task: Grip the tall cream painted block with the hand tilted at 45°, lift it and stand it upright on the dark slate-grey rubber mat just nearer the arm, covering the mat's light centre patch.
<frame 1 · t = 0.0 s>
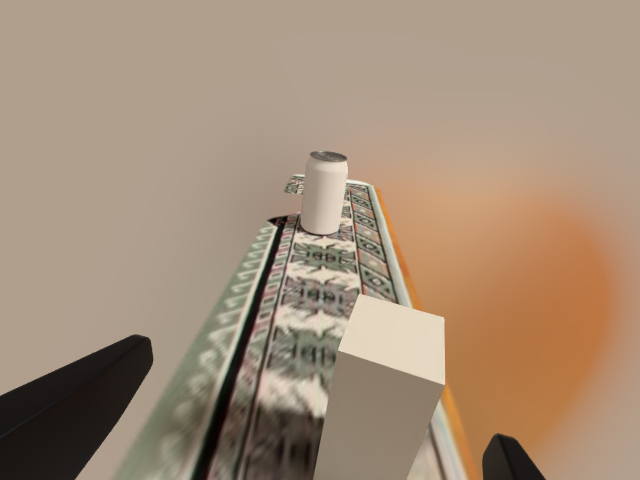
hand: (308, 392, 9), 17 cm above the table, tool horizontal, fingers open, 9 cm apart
cream block: (357, 465, 23), on the table
can: (319, 228, 57), on the table
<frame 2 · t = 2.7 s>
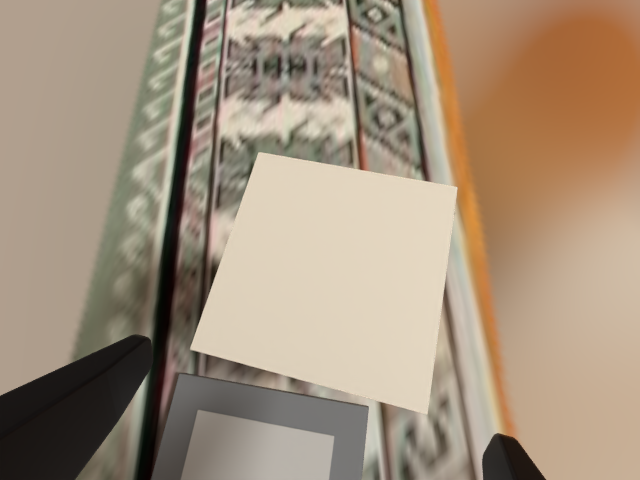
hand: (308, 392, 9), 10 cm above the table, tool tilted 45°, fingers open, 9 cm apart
cream block: (339, 321, 19), on the table
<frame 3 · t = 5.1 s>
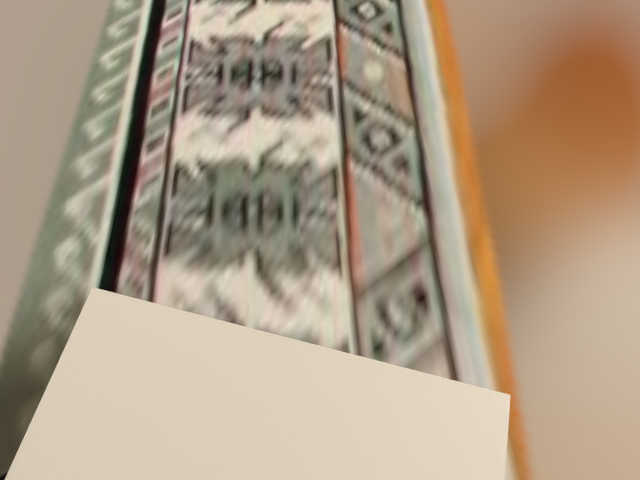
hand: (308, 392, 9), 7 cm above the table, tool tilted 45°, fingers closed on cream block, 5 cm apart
cream block: (316, 411, 14), on the table, touching gripper
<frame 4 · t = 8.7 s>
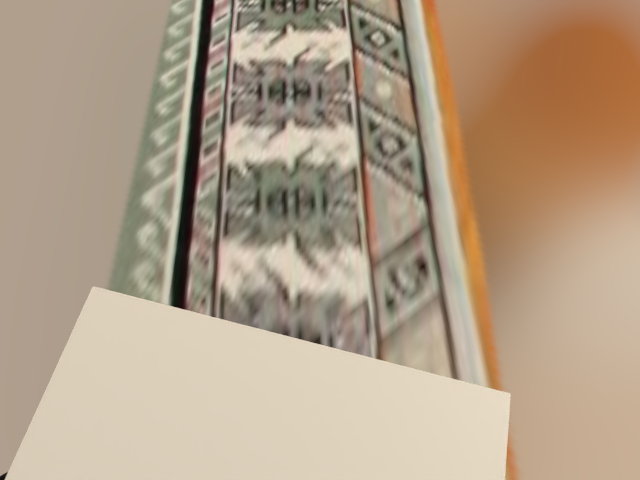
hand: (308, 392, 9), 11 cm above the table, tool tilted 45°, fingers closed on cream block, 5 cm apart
cream block: (316, 411, 14), point 5 cm above the table, touching gripper
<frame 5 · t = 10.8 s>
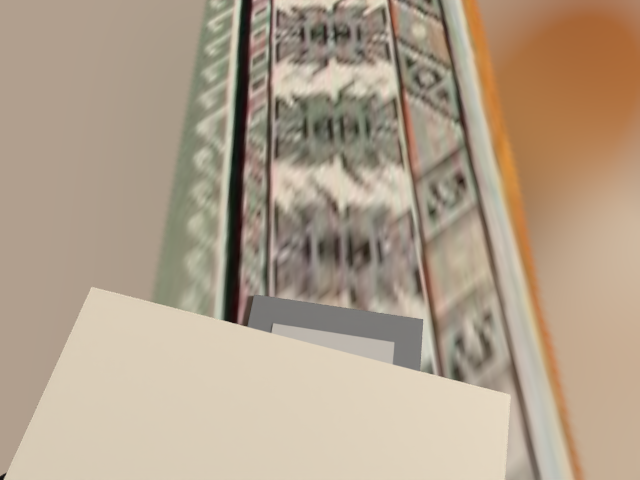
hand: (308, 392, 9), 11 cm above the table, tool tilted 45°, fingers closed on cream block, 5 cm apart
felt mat: (324, 397, 19), on the table
cream block: (316, 411, 14), point 5 cm above the table, touching gripper
when the fingers open (8 cm above the table, at t = 12.6 s): cream block stays where it is, resting on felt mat.
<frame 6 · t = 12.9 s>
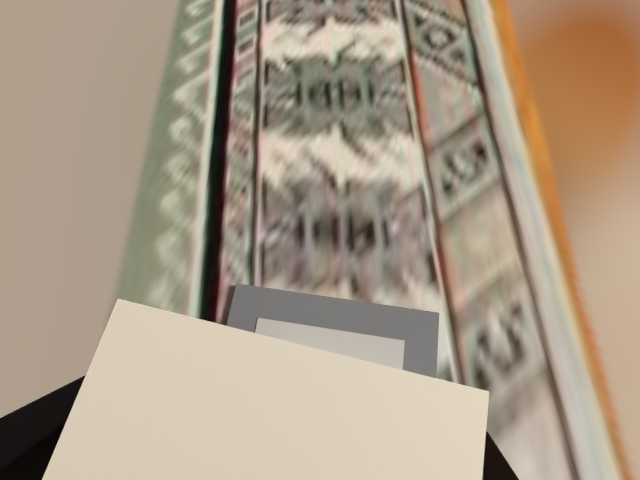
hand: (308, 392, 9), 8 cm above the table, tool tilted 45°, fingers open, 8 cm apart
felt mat: (319, 407, 16), on the table
cream block: (317, 410, 15), point 1 cm above the table, touching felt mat
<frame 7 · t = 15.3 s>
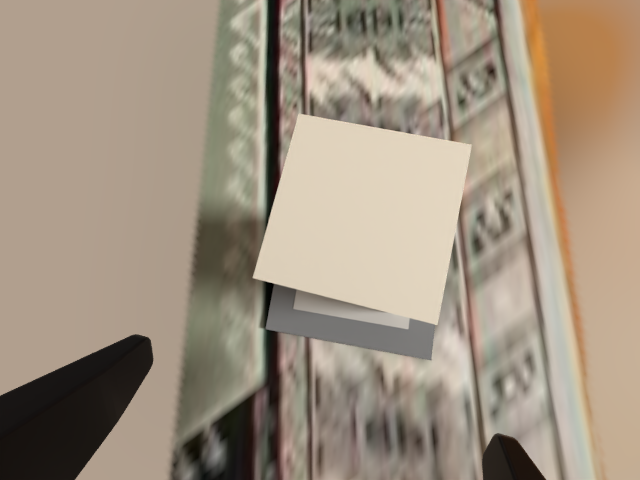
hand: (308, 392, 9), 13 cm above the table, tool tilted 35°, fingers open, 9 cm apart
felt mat: (357, 263, 22), on the table
cream block: (358, 262, 21), point 1 cm above the table, touching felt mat
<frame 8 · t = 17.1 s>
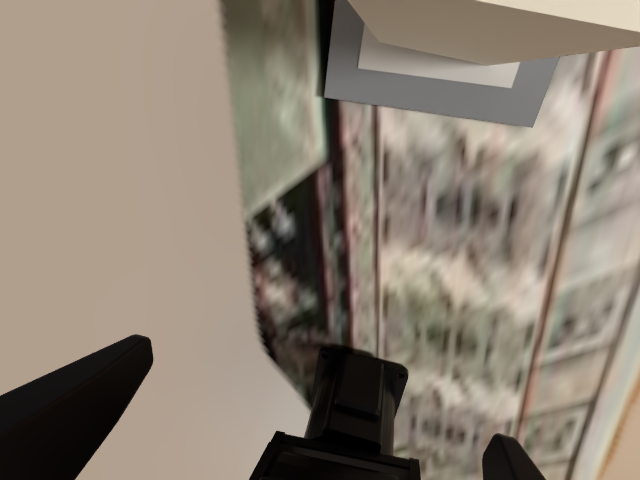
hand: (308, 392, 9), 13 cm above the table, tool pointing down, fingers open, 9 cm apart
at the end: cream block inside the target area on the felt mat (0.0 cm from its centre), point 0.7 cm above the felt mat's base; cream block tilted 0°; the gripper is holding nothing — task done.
